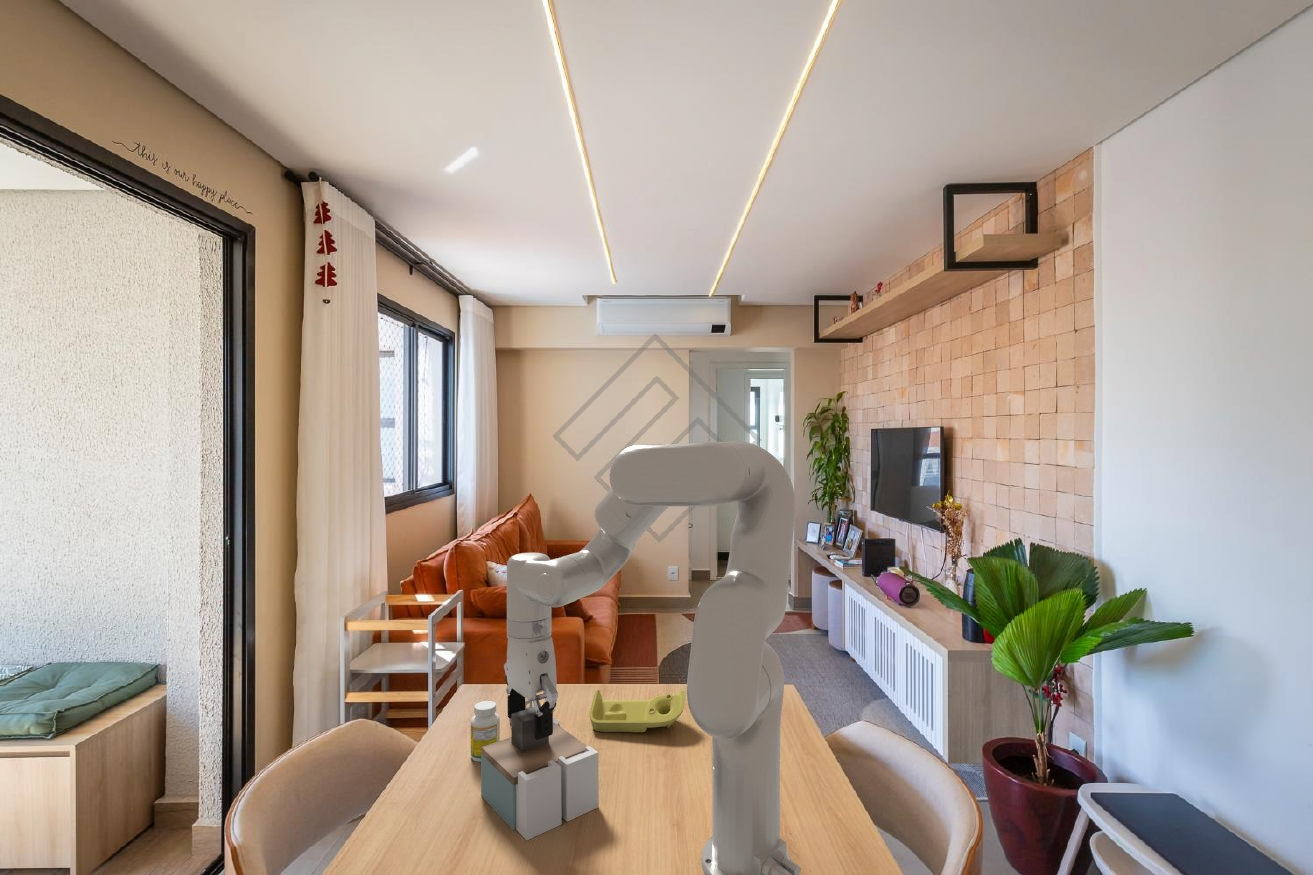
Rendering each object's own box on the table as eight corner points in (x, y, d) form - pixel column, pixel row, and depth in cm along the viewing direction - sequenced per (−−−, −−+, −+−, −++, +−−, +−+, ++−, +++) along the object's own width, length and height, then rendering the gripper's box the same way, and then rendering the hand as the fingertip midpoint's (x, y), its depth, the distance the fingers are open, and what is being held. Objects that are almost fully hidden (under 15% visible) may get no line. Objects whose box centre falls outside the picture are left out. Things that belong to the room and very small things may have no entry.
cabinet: (481, 795, 103) (481, 742, 103) (553, 766, 112) (553, 717, 112) (523, 841, 92) (523, 781, 91) (601, 805, 100) (600, 751, 100)
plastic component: (587, 722, 125) (596, 683, 134) (593, 747, 128) (602, 707, 137) (682, 722, 122) (686, 682, 131) (687, 747, 125) (690, 707, 134)
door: (481, 754, 103) (481, 717, 103) (554, 728, 112) (554, 695, 112) (517, 788, 93) (517, 748, 93) (594, 757, 102) (594, 720, 102)
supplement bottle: (491, 764, 113) (491, 712, 113) (465, 761, 114) (464, 709, 114) (504, 749, 119) (504, 700, 119) (479, 746, 120) (479, 697, 120)
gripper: (574, 634, 100) (575, 738, 100) (525, 611, 114) (525, 703, 114) (533, 644, 96) (534, 753, 96) (487, 619, 109) (487, 714, 109)
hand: (529, 725), depth 105 cm, fingers open, 9 cm apart
